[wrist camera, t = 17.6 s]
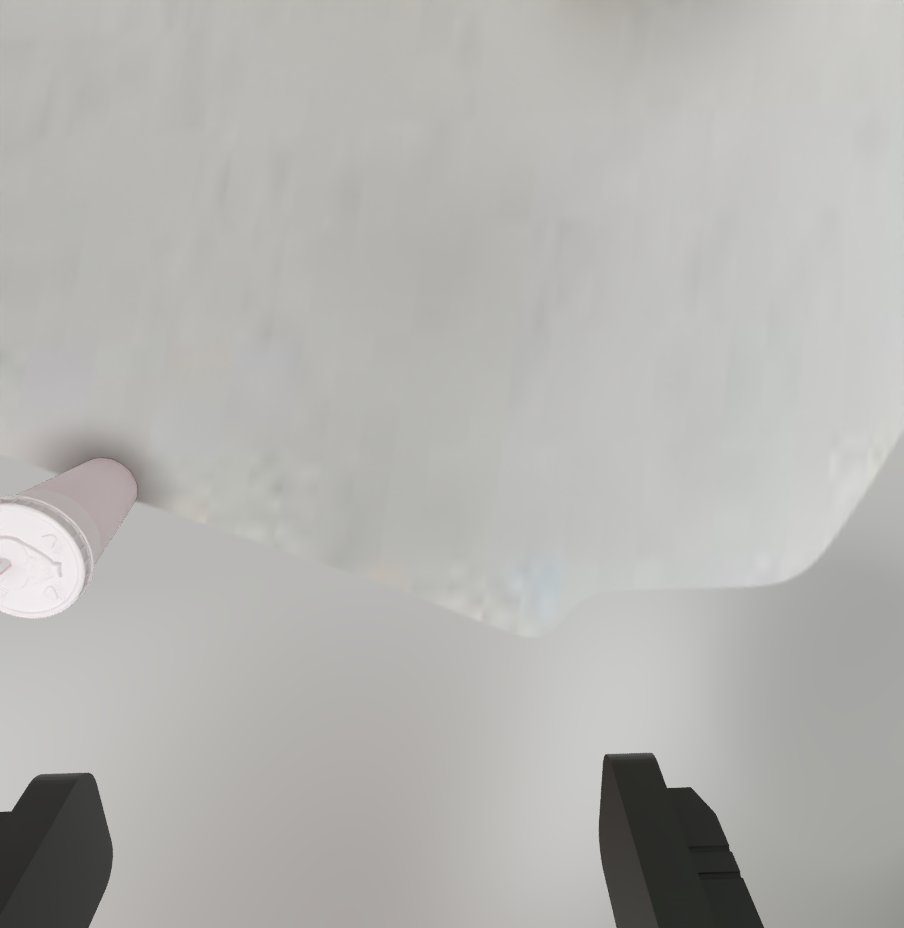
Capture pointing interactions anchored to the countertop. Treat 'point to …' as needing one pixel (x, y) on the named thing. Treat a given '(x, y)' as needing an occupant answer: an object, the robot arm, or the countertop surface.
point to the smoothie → (60, 536)
